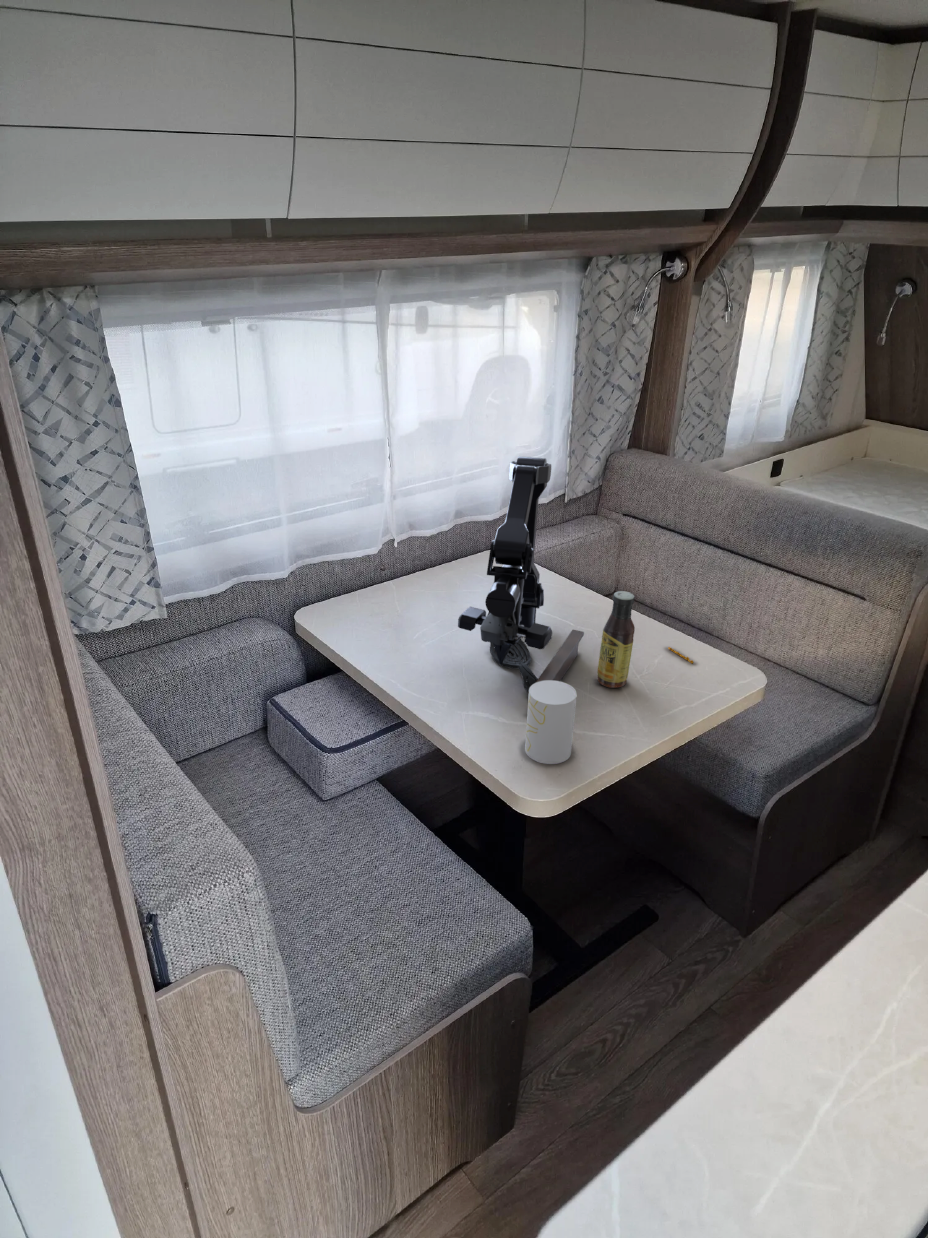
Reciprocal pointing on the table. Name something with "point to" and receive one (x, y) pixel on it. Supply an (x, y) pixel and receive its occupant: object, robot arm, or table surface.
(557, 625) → the table surface
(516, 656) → the hairbrush
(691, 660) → the golden brown bumpy stick
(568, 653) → the rail
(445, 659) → the table surface
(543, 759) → the cup
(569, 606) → the table surface
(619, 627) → the sauce bottle
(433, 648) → the table surface
